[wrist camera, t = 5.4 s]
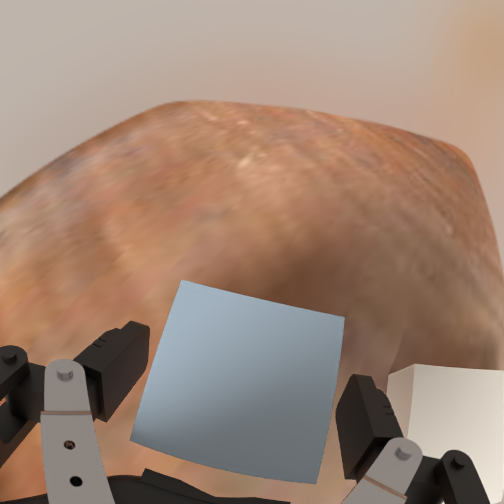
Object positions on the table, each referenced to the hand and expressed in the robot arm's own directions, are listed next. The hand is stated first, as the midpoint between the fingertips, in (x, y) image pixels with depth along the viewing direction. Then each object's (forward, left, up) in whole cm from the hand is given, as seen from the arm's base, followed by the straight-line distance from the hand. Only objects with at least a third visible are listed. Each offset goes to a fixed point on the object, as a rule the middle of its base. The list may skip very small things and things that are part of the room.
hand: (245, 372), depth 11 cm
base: (+12, -6, -5) cm, 14 cm away
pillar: (0, -1, -5) cm, 5 cm away
